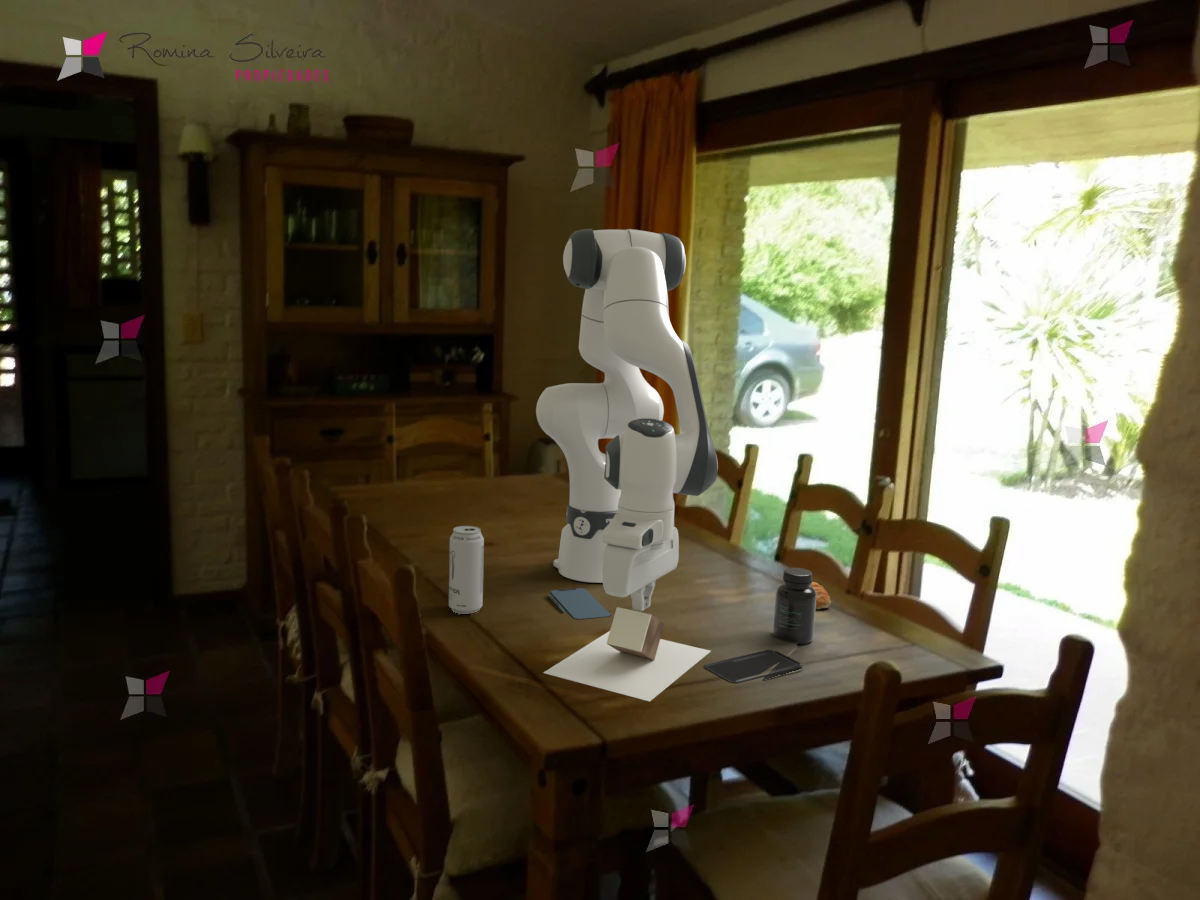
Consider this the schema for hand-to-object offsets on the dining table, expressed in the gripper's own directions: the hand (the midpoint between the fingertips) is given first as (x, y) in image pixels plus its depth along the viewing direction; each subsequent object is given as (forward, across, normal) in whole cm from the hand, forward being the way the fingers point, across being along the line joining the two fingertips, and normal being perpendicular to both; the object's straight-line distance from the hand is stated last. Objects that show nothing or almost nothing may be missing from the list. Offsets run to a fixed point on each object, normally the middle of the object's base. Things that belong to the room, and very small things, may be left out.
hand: (641, 609), depth 156 cm
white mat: (+9, +2, 0) cm, 9 cm away
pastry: (+9, -45, +14) cm, 48 cm away
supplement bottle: (+9, -24, +18) cm, 31 cm away
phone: (+9, -7, +17) cm, 20 cm away
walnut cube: (+5, -2, 0) cm, 6 cm away
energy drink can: (+8, -3, -36) cm, 37 cm away
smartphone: (+9, -16, -20) cm, 27 cm away
